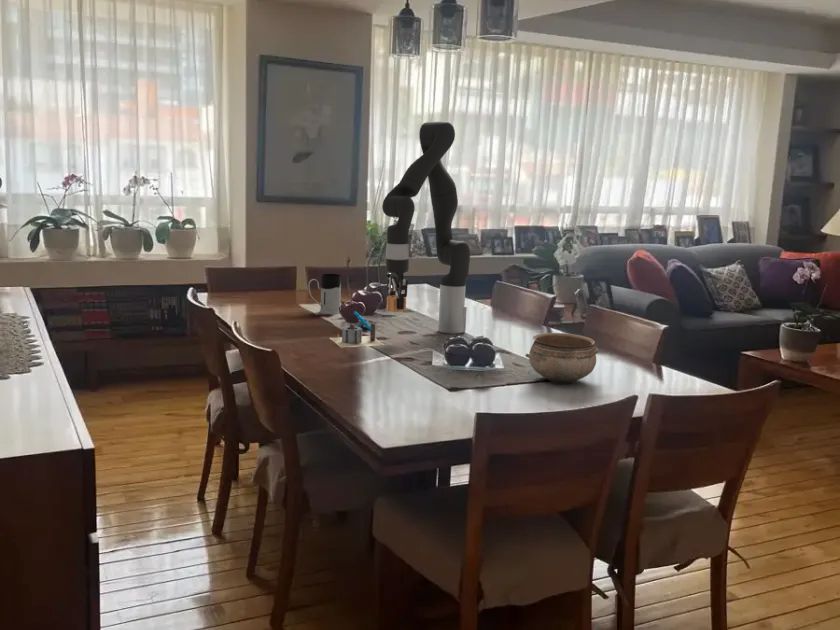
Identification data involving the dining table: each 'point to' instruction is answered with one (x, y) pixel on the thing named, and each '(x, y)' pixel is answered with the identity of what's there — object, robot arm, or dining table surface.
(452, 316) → the robot arm
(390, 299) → the gear
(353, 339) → the gear
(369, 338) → the peg board
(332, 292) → the white and black mug
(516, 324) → the dining table surface
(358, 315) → the blue sprocket wheel
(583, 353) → the cooking pot
